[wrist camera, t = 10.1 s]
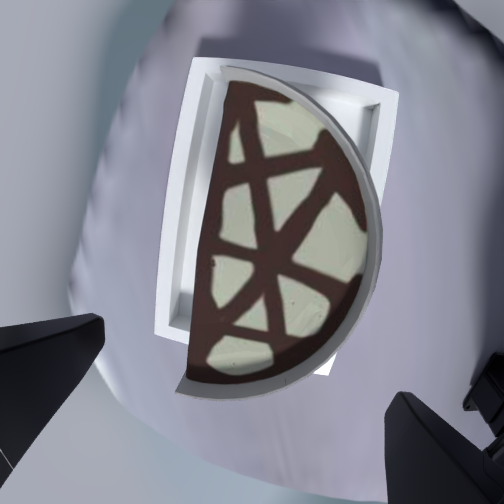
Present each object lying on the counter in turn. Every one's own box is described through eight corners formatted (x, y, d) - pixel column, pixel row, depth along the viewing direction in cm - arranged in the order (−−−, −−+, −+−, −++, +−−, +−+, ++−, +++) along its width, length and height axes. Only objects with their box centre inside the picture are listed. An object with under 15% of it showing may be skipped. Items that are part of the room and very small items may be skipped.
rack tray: (386, 102, 16) (398, 92, 13) (325, 355, 21) (328, 375, 18) (205, 70, 17) (193, 57, 15) (168, 318, 22) (154, 334, 19)
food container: (317, 323, 19) (327, 436, 10) (228, 304, 20) (174, 402, 10) (362, 137, 16) (431, 95, 7) (262, 115, 17) (223, 49, 7)
